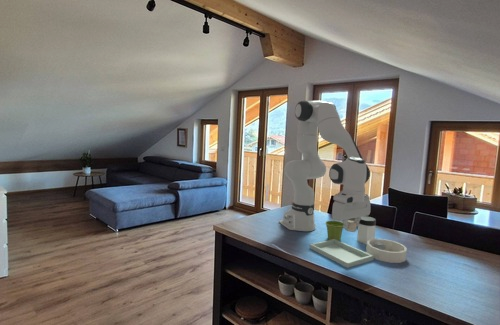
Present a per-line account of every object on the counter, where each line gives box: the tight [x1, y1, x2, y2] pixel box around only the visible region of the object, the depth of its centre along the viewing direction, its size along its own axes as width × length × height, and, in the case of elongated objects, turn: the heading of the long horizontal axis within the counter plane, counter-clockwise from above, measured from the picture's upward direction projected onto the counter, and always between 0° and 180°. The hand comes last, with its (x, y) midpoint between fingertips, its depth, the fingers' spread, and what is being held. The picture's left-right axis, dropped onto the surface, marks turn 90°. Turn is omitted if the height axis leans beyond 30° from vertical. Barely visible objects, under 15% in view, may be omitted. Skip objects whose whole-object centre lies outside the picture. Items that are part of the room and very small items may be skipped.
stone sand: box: [344, 220, 357, 233], centre depth 125 cm, size 4×4×4 cm
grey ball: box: [374, 242, 385, 250], centre depth 133 cm, size 4×4×4 cm
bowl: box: [365, 238, 408, 264], centre depth 130 cm, size 16×16×5 cm
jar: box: [356, 216, 377, 246], centre depth 147 cm, size 9×8×12 cm
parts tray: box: [309, 239, 374, 269], centre depth 130 cm, size 22×16×2 cm
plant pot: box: [325, 220, 344, 241], centre depth 149 cm, size 9×9×9 cm
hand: (350, 227), depth 125 cm, fingers closed on stone sand, 4 cm apart
